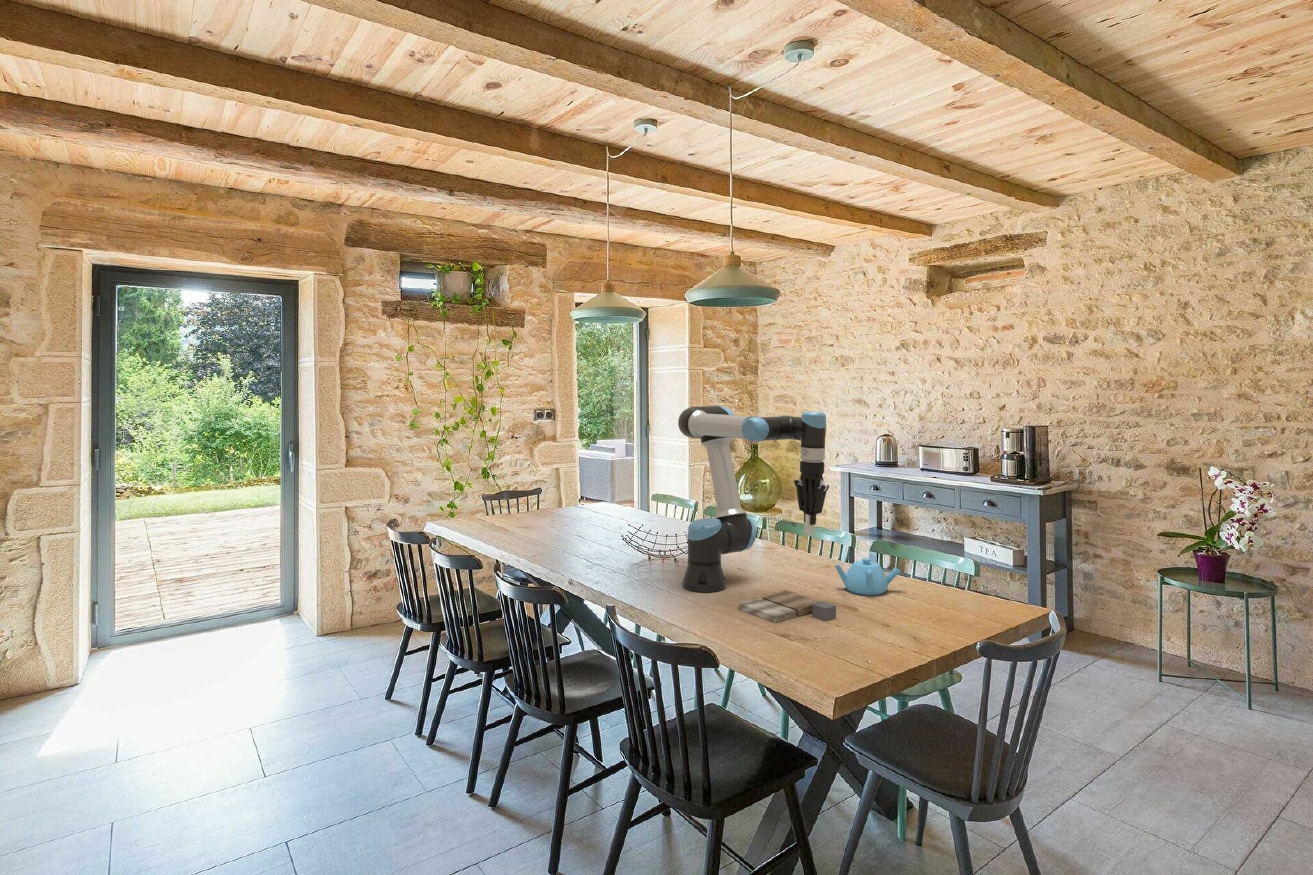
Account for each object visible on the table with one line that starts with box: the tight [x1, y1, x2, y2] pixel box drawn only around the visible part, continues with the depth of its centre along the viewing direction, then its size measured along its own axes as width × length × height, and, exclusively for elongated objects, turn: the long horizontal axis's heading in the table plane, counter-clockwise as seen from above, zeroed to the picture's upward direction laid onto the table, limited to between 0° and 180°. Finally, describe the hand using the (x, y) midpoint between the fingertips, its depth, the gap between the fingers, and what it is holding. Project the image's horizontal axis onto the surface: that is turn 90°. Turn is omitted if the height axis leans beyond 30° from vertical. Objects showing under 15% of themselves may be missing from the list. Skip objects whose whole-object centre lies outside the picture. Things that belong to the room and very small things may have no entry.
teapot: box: [834, 557, 902, 596], centre depth 241 cm, size 15×17×11 cm
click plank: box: [761, 589, 822, 617], centre depth 223 cm, size 16×10×2 cm, turn 35°
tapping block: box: [811, 601, 837, 622], centre depth 213 cm, size 5×5×4 cm
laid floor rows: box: [738, 597, 797, 624], centre depth 217 cm, size 16×9×2 cm, turn 35°
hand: (809, 534), depth 223 cm, fingers closed
